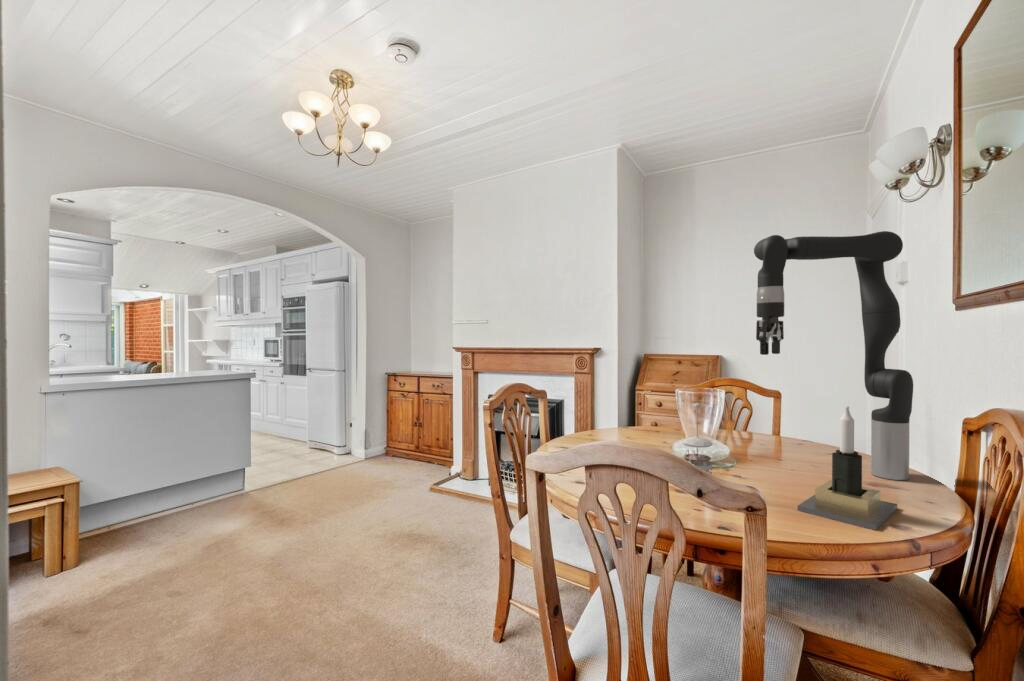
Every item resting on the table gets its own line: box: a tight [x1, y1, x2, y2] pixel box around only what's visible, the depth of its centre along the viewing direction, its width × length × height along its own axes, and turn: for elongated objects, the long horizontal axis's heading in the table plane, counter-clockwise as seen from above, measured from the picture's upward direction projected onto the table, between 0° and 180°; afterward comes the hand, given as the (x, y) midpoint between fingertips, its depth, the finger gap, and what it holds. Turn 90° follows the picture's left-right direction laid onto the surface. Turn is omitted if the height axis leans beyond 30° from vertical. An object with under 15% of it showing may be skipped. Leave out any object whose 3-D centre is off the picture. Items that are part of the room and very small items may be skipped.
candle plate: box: [797, 479, 898, 531], centre depth 119 cm, size 20×16×5 cm
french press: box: [682, 402, 713, 475], centre depth 134 cm, size 10×12×25 cm
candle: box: [831, 405, 863, 496], centre depth 119 cm, size 5×5×25 cm
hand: (770, 354), depth 146 cm, fingers open, 8 cm apart
